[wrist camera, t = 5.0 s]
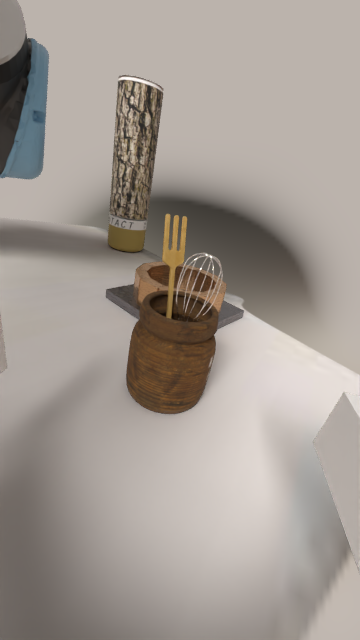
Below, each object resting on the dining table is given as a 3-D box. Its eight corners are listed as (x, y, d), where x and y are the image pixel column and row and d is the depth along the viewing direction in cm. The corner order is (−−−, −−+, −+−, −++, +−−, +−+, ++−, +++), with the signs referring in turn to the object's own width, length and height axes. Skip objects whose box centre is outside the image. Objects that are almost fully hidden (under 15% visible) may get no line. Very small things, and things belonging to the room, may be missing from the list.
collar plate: (105, 297, 33) (108, 264, 31) (174, 282, 41) (179, 257, 39) (178, 346, 26) (186, 309, 24) (241, 317, 35) (251, 288, 33)
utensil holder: (137, 426, 17) (169, 234, 12) (116, 364, 22) (132, 208, 17) (215, 409, 20) (272, 246, 14) (181, 357, 25) (214, 220, 19)
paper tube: (124, 241, 57) (138, 90, 45) (150, 250, 54) (172, 93, 43) (99, 244, 52) (108, 74, 40) (127, 255, 49) (145, 76, 37)
